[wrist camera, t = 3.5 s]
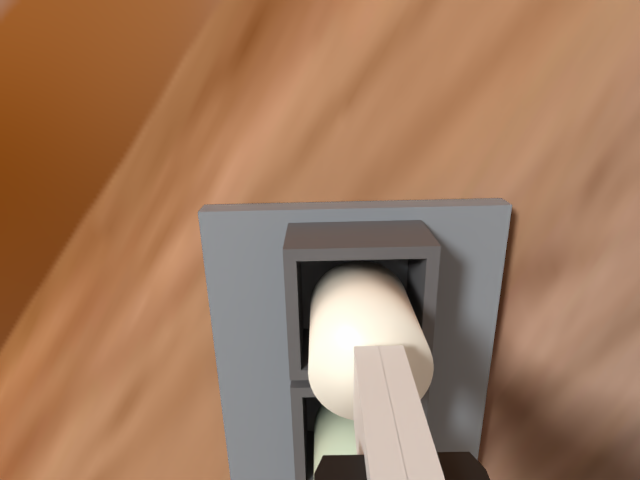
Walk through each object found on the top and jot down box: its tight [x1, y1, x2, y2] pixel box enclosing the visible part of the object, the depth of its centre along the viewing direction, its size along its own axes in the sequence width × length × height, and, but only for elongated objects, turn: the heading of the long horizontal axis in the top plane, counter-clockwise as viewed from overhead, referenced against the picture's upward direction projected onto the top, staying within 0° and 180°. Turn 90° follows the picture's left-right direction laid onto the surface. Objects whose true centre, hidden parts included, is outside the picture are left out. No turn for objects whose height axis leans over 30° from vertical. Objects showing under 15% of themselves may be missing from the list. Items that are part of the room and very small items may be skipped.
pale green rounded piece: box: [314, 405, 357, 473], centre depth 18 cm, size 4×4×4 cm
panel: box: [198, 198, 512, 480], centre depth 22 cm, size 14×20×4 cm
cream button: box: [308, 261, 434, 420], centre depth 16 cm, size 4×4×4 cm
